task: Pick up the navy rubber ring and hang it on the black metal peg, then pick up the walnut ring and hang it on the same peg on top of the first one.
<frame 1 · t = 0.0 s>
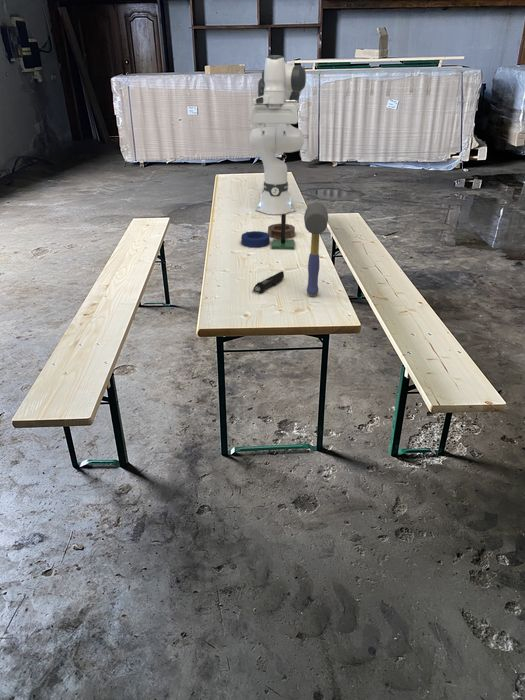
hand: (273, 135, 225), 39 cm above the table, tool pointing down, fingers open, 8 cm apart
rubber mallet: (312, 295, 177), on the table
electric trimmer: (268, 286, 184), on the table
walnut ring: (281, 234, 232), on the table
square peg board: (283, 245, 220), on the table
navy ring: (255, 242, 223), on the table
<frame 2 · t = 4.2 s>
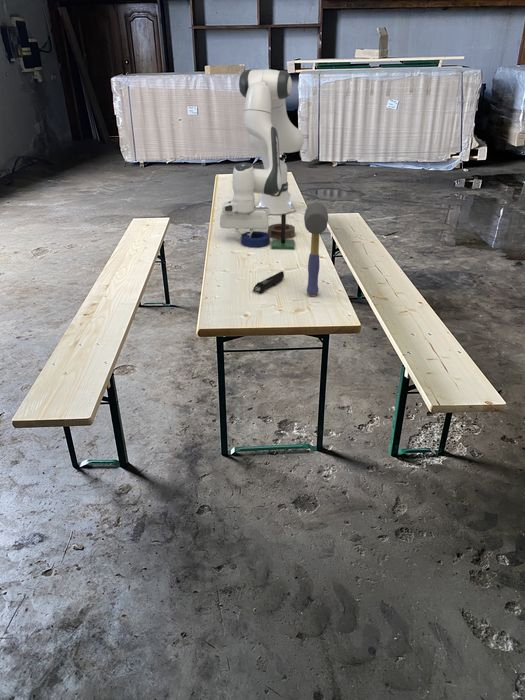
hand: (244, 238, 222), 2 cm above the table, tool pointing down, fingers closed on navy ring, 2 cm apart
navy ring: (255, 242, 223), on the table, touching gripper
everything else where it was.
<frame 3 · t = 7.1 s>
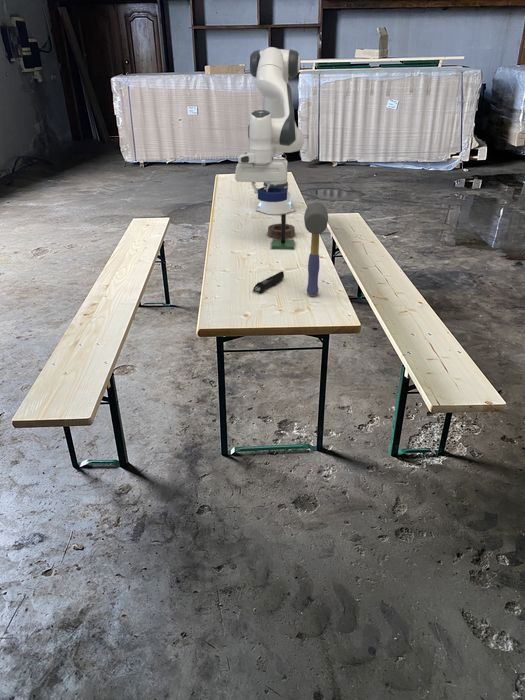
hand: (261, 193, 211), 21 cm above the table, tool pointing down, fingers closed on navy ring, 2 cm apart
navy ring: (272, 198, 211), point 19 cm above the table, touching gripper
everything else where it was.
when the fingers open (14 cm above the table, at t = 9.8 s): navy ring drops 10 cm, resting on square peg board.
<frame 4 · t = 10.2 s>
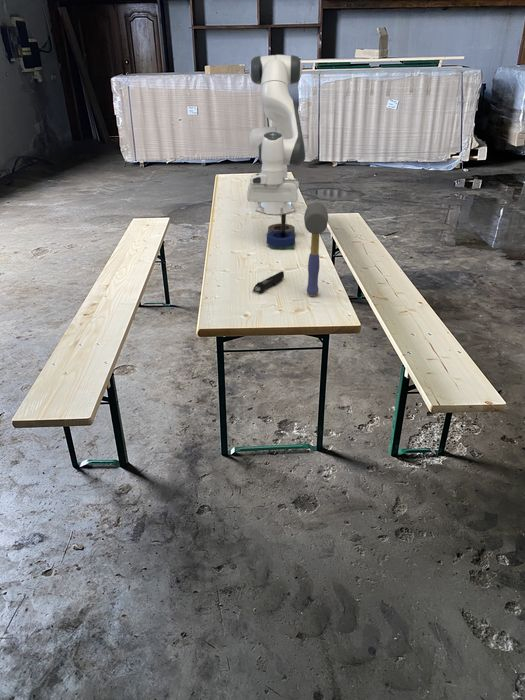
hand: (272, 212, 213), 14 cm above the table, tool pointing down, fingers open, 7 cm apart
navy ring: (280, 242, 220), point 1 cm above the table, touching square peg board
everything else where it was.
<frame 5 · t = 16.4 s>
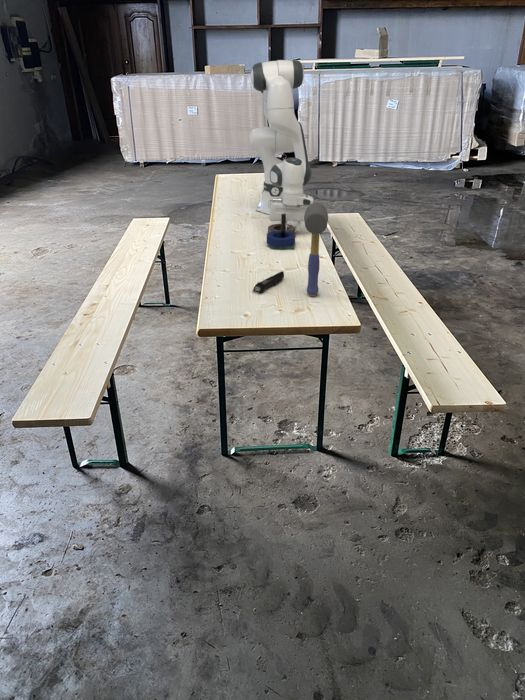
hand: (291, 230, 231), 2 cm above the table, tool pointing down, fingers closed on walnut ring, 2 cm apart
walnut ring: (281, 234, 232), on the table, touching gripper
everything else where it was.
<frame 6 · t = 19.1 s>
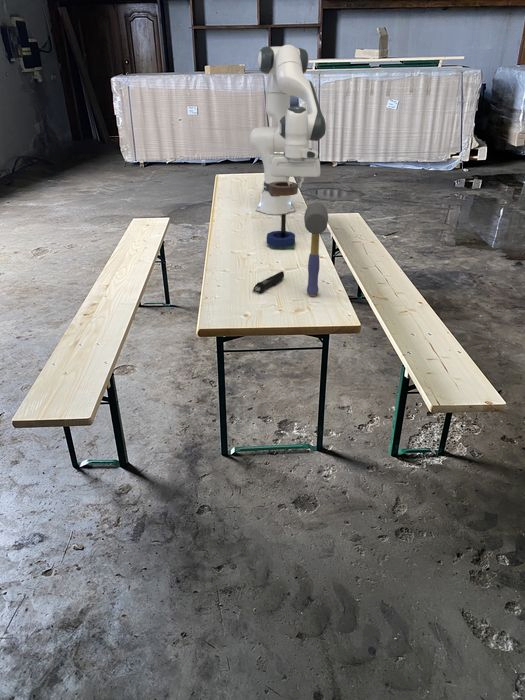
hand: (294, 187, 215), 22 cm above the table, tool pointing down, fingers closed on walnut ring, 2 cm apart
walnut ring: (283, 192, 216), point 20 cm above the table, touching gripper
everything else where it was.
when the fingers open (14 cm above the table, at t = 22.0 s): walnut ring drops 7 cm, resting on navy ring.
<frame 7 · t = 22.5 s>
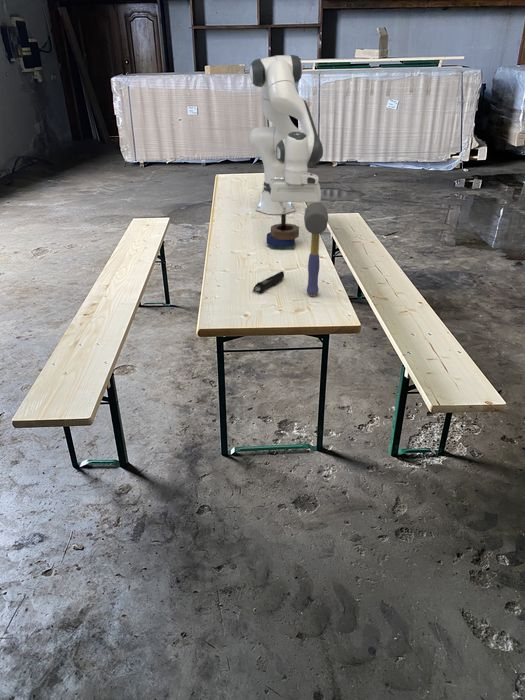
hand: (295, 212, 213), 14 cm above the table, tool pointing down, fingers open, 8 cm apart
walnut ring: (284, 235, 218), point 4 cm above the table, touching navy ring
navy ring: (280, 242, 220), point 1 cm above the table, touching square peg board, walnut ring
everything else where it was.
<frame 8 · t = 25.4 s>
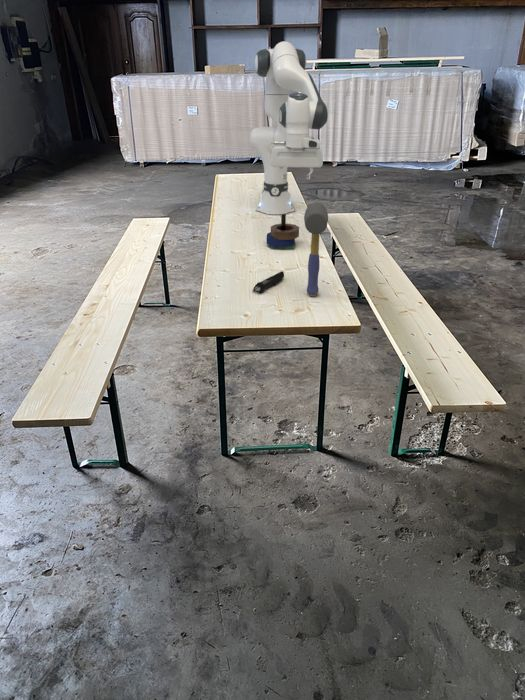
hand: (296, 179, 206), 27 cm above the table, tool pointing down, fingers open, 8 cm apart
nothing on the table moved.
at the end: navy ring 1.0 cm off-centre on the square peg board, point 1.2 cm above the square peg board's base; walnut ring 0.7 cm off-centre on the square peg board, point 4.4 cm above the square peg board's base; the gripper is holding nothing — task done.
